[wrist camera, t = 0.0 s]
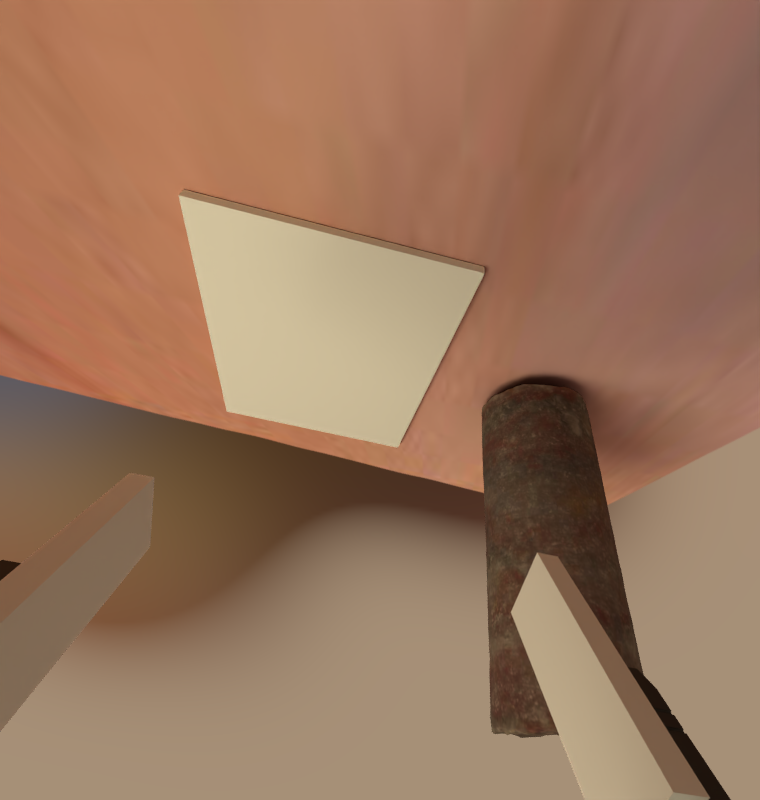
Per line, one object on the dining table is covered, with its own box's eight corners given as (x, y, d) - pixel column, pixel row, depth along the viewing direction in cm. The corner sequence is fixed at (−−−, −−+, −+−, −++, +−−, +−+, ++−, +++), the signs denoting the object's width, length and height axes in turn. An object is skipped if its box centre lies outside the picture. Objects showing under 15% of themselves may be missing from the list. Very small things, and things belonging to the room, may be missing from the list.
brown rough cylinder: (480, 370, 28) (491, 738, 16) (594, 365, 26) (699, 775, 14) (481, 428, 34) (490, 729, 22) (574, 428, 32) (637, 754, 20)
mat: (183, 189, 20) (178, 195, 20) (484, 266, 21) (484, 273, 21) (229, 406, 36) (226, 411, 36) (398, 442, 37) (397, 447, 37)
